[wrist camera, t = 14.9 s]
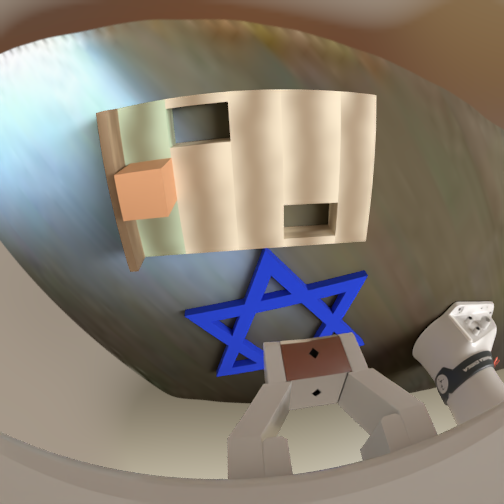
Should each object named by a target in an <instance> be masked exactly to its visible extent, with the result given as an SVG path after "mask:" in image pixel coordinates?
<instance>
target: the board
mask: <svg viewBox="0 0 504 504" xmlns="http://www.w3.org/2000/svg"><path fill="white" fill-rule="evenodd" d="M219 102H228V110H229V125H230V138H222V139H211V140H201V141H192V142H184V143H176V142H175V133H174V123H173V113H172V108H176V107H183V106H191V105H199V104H208V103H219ZM96 116H97V124H98V132H99V138H100V145H101V151H102V157H103V163H104V168H105V173H106V178H107V183H108V188H109V193H110V197H111V202H112V206H113V210H114V215H115V219H116V223H117V227H118V231H119V234H120V238H121V242H122V245H123V249H124V253H125V256H126V259H127V263H128V266H129V269H130V272H133V271H139V269H140V267H141V265H142V262H143V260H144V258H145V257H150V256H164V255H178V254H191V253H205V252H219V251H232V250H246V249H260V248H274V247H289V246H303V245H317V244H331V243H346V242H360V241H366V234H367V227H368V219H369V211H370V202H371V192H372V182H373V169H374V155H375V134H376V95H370V94H362V93H351V92H339V91H324V90H247V91H231V92H219V93H209V94H200V95H191V96H184V97H177V98H170V99H164V100H158V101H153V102H147V103H142V104H137V105H132V106H128V107H123V108H119V109H113V110H107V111H103V112H99V113H96ZM166 158H172V164H173V172H174V180H175V187H176V194H177V201H176V203H175V205H174V207H173V209H172V211H171V213H170V215H169V217H160V218H150V219H140V220H130V221H123V217H122V212H121V208H120V203H119V199H118V194H117V189H116V184H115V178H114V175H115V174H116V173H118V172H119V171H120V170H122V169H123V168H125V167H126V166H127V165H129V164H131V163H137V162H144V161H151V160H158V159H166ZM316 203H329V217H328V225H311V226H294V227H284V205H295V204H316Z"/></svg>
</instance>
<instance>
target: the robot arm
mask: <svg viewBox="0 0 504 504" xmlns="http://www.w3.org/2000/svg"><path fill="white" fill-rule="evenodd" d="M493 309H494V304H493V302H492V301H481V302H455V303H454V304H453V305H452V306H451V307H450V308H449V309H448V310H447V311H446V312H445V313H444V314H443V315H442V316H441V317H439V318H438V319H437V320H435V321H434V322H433V323H432V324H430V325H429V326H428V327H427V328H426V329H425V330H424V331H423V333H422V334H421V335H420V336H419V338H418V339H417V341H416V343H415V345H414V347H413V356H414V358H415V359H416V360H417V361H419V362H420V363H421V365H422V366H423V367H424V368H425V369H426V370H427V372H428V373H429V374H430V376H431V377H432V378H433V380H434V381H435V383H436V386H437V389H438V392H439V394H440V396H441V398H442V400H443V402H444V404H445V405H448V407H449V409H450V411H451V413H452V415H453V417H454V419H455V422H456V424H457V426H456V427H454V428H452V429H450V430H448V431H445V432H443V433H441V434H439V435H437V432H436V430H435V427H434V425H433V423H432V420H431V418H430V416H429V413H428V411H427V409H426V407H425V404H424V403H423V402H422V401H420V400H419V399H417V398H416V397H414V396H413V395H411V394H410V393H408V392H407V391H405V390H404V389H402V388H401V387H399V386H398V385H397V384H395V383H394V382H392V381H391V380H389V379H388V378H386V377H385V376H383V375H382V374H381V373H379V372H378V371H376V370H375V369H373V368H369V369H368V366H367V364H366V361H365V359H364V357H363V354H362V352H361V349H360V347H359V345H358V342H357V340H356V338H355V335H354V334H353V333H352V332H350V333H344V334H338V335H329V336H322V337H315V338H308V339H301V340H289V341H278V342H264V343H263V354H264V375H265V384H263V385H262V387H261V389H260V390H259V392H258V393H257V395H256V396H255V398H254V400H253V401H252V403H251V404H250V406H249V407H248V409H247V410H246V412H245V413H244V415H243V416H242V418H241V419H240V421H239V423H238V424H237V425H236V427H235V428H234V430H233V431H232V433H231V434H230V435H229V437H228V438H227V444H228V445H227V446H228V447H227V448H228V479H190V478H176V477H165V476H155V475H148V474H140V473H134V472H128V471H122V470H117V469H112V468H107V467H103V466H98V465H94V464H90V463H86V462H82V461H78V460H75V459H71V458H68V457H65V456H62V455H58V454H55V453H52V452H49V451H46V450H44V449H41V448H38V447H35V446H33V445H30V444H28V443H25V442H23V441H20V440H18V439H16V438H13V437H11V436H9V435H7V434H4V433H2V432H0V504H504V384H503V382H502V381H501V379H500V378H499V376H498V375H497V373H496V372H495V370H494V368H495V366H496V365H497V363H498V362H499V360H498V361H497V362H496V360H497V358H498V357H496V358H495V360H494V361H493V358H492V354H491V349H492V346H493V342H494V339H495V336H496V331H497V329H496V325H495V322H494V321H493V319H492V318H491V316H492V313H493ZM495 362H496V364H495ZM334 403H338V405H339V406H340V407H341V408H342V409H343V410H344V411H345V412H346V413H347V414H348V415H349V416H350V417H351V418H353V419H354V420H355V421H356V422H357V423H358V424H359V425H360V426H361V427H362V428H363V429H364V430H365V431H366V432H367V433H368V434H369V435H370V437H369V438H368V440H367V441H366V443H365V444H364V445H363V447H362V448H361V449H360V451H361V455H362V459H363V461H360V462H356V463H352V464H348V465H343V466H339V467H334V468H329V469H324V470H319V471H313V472H307V473H300V474H293V473H292V466H291V460H290V453H289V447H288V441H287V439H286V438H284V437H282V436H277V434H278V432H279V431H280V428H281V427H282V425H283V423H284V421H285V419H286V416H287V415H288V412H289V410H295V409H301V408H308V407H313V406H321V405H328V404H334ZM276 436H277V437H276Z"/></svg>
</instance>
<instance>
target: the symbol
mask: <svg viewBox="0 0 504 504" xmlns="http://www.w3.org/2000/svg"><path fill="white" fill-rule="evenodd" d="M271 276H272V277H273V278H274V279H275V280H276V281H278V282H279V283H280V284H281V285H282V286H283V287H284V288H285V290H280V291H276V292H271V293H267V294H264V292H265V290H266V287H267V285H268V282H269V280H270V277H271ZM367 276H368V275H367V273H366V272H365V270H364V271H360V272H356V273H352V274H348V275H344V276H340V277H336V278H332V279H328V280H324V281H319V282H315V283H311V284H307V285H306V284H305V283H304V282H303V281H302V280H300V279H299V278H298V277H297V276H296V275H295V274H294V273H293V272H292V271H291V270H290V269H289V268H288V267H287V266H286V265H285V264H284V263H283V262H282V261H281V260H280V259H279V258H277V257H276V256H275V255H274V254H273V253H272V252H271V251H270V250H269V249H268V248H263V249H262V252H261V255H260V257H259V260H258V263H257V265H256V268H255V271H254V273H253V276H252V279H251V281H250V284H249V287H248V289H247V292H246V295H245V297H244V298H243V299H238V300H233V301H228V302H223V303H218V304H213V305H208V306H203V307H197V308H192V309H187V310H185V315H184V316H185V317H186V318H188V319H189V320H191V321H192V322H194V323H195V324H197V325H198V326H199V327H201V328H202V329H204V330H205V331H207V332H208V333H210V334H211V335H213V336H214V337H216V338H217V339H219V340H220V341H222V342H224V343H225V344H227V345H226V348H225V350H224V353H223V356H222V358H221V361H220V363H219V366H218V369H217V377H218V376H225V375H232V374H238V373H244V372H250V371H256V370H261V369H264V354H263V350H261V349H260V348H258V347H257V346H255V345H254V344H252V343H251V342H249V341H248V340H246V339H245V337H246V334H247V332H248V330H249V327H250V325H251V323H252V320H253V318H254V316H255V313H258V312H263V311H267V310H272V309H277V308H281V307H286V306H290V305H295V304H299V303H302V304H303V305H305V306H306V307H307V308H308V309H309V310H310V311H311V312H312V313H314V314H315V315H316V316H317V317H318V318H319V319H320V320H321V321H323V322H322V324H321V326H320V327H319V329H318V331H317V332H316V334H315V336H314V337H313V338H315V337H322V336H329V335H332V334H333V332H335V333H336V334H337V335H338V334H344V333H350V332H352V333H353V334H354V335H355V338H356V340H357V342H358V345H359V346H362V345H365V344H364V342H363V340H362V339H361V338H360V337H359V336H358V335H357V334H356V333H355V332H354V331H353V330H352V329H351V328H350V327H349V326H348V325H347V324H346V323H345V322H344V321H343V320H342V318H343V316H344V315H345V313H346V312H347V310H348V308H349V307H350V305H351V303H352V302H353V300H354V298H355V297H356V295H357V293H358V292H359V290H360V288H361V287H362V285H363V283H364V281H365V280H366V278H367ZM336 294H339V295H338V297H337V299H336V300H335V302H334V304H333V306H332V307H331V308H330V307H328V306H327V305H326V304H325V303H324V302H323V301H322V300H321V299H320V298H324V297H328V296H332V295H336ZM233 317H237V319H236V321H235V324H234V327H233V329H232V330H231V329H230V328H229V327H227V326H226V325H224V324H223V323H221V322H220V321H219V320H223V319H228V318H233ZM238 353H241V354H242V355H244V356H246V357H247V358H249V359H245V360H239V361H235V360H236V357H237V355H238Z"/></svg>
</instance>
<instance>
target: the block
mask: <svg viewBox="0 0 504 504" xmlns="http://www.w3.org/2000/svg"><path fill="white" fill-rule="evenodd" d="M114 178H115V184H116V189H117V194H118V199H119V203H120V208H121V212H122V217H123V221H130V220H140V219H150V218H160V217H169V215H170V213H171V211H172V209H173V207H174V205H175V203H176V201H177V194H176V187H175V180H174V172H173V164H172V158H166V159H158V160H151V161H144V162H137V163H131V164H129V165H127V166H126V167H125V168H123V169H122V170H120V171H119V172H118V173H116V174H115V175H114Z"/></svg>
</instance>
